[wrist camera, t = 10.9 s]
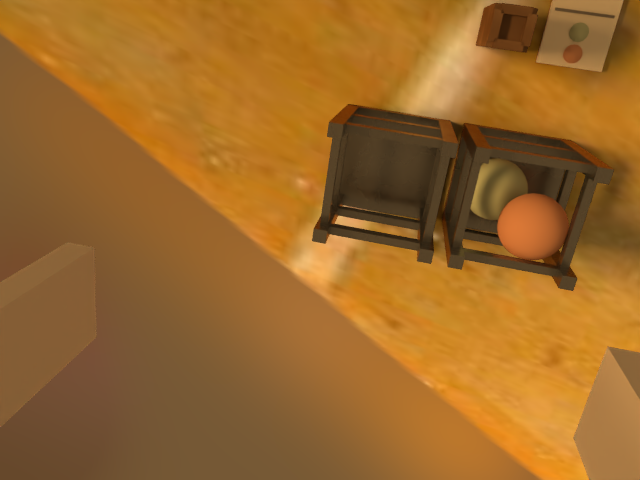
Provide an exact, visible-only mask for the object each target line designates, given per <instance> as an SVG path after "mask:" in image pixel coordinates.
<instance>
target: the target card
mask: <svg viewBox="0 0 640 480" xmlns="http://www.w3.org/2000/svg"><path fill="white" fill-rule="evenodd" d="M623 1H624V0H552V2H551V6H550V10H549V14H548V17H547V21H546V25H545V29H544V32H543V36H542V40H541V44H540V47H539V51H538V55H537V59H536V62H538V63H544V64H551V65H558V66H564V67H571V68H578V69H584V70H591V71H598V72H602V69H603V65H604V62H605V59H606V56H607V52H608V49H609V46H610V43H611V40H612V36H613V33H614V30H615V27H616V23H617V20H618V17H619V14H620V11H621V7H622V4H623Z"/></svg>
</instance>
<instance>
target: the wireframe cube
mask: <svg viewBox="0 0 640 480" xmlns="http://www.w3.org/2000/svg"><path fill="white" fill-rule="evenodd" d="M327 137H332V145H331V152H330V159H329V166H328V172H327V179H326V186H325V193H324V200H323V207H322V214H321V217H320V218H319V220H318V222H317V224H316V226H315V228H314V232H313V239H312V241H314V242H319V243H326V241H327V239H328V237H329V235H330V234H332V235H337V236H342V237H348V238H353V239H358V240H364V241H369V242H374V243H379V244H385V245H390V246H395V247H401V248H406V249H411V250H416V251H417V261H419V262H424V263H429V264H431V262H432V257H433V253H434V244H433V231H434V226H435V222H436V217H437V213H438V209H439V204H440V200H441V195H442V191H443V187H444V182H445V178H446V173H447V169H448V164H449V160H450V158H455V157H456V153H457V149H458V144H459V143H458V141H457V138H456V135H455V133H454V130H453V127H452V124H451V122H450V121H449V120H443V119H437V118H431V117H424V116H418V115H412V114H406V113H400V112H394V111H388V110H381V109H375V108H369V107H363V106H357V105H351V104H348V105H347V106H346V107H345V108H344V109H342V110H341V111H340V112H339V113H338V114H337V115H336V116H335V117H334V118H333V119H332V120H331V121H330V122H329V126H328V133H327ZM343 205H346V206H352V207H357V208H363V209H368V210H374V211H379V212H385V213H390V214H396V215H401V216H406V217H412V218H417V219H418V220H414V219H409V218H403V217H398V216H393V215H387V214H382V213H376V212H371V211H365V210H360V209H354V208H349V207H343ZM338 215H339V216H344V217H350V218H355V219H360V220H366V221H371V222H377V223H382V224H387V225H393V226H398V227H404V228H409V229H415V230H418V232H417V239H413V238H407V237H402V236H397V235H391V234H386V233H381V232H375V231H370V230H364V229H359V228H354V227H348V226H343V225H338V224H335V221H336V219H337V217H338Z"/></svg>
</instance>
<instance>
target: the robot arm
mask: <svg viewBox="0 0 640 480" xmlns="http://www.w3.org/2000/svg"><path fill="white" fill-rule="evenodd" d="M94 250H95V249H94V247H89V246H84V245H79V244H73V243H66V244H64V245H62V246H61V247H59V248H57V249H55V250H54V251H52V252H50V253H49V254H47V255H45V256H44V257H42V258H40V259H39V260H37V261H35V262H34V263H32V264H30V265H28V266H27V267H25V268H23V269H22V270H20V271H19V272H17V273H15V274H13V275H12V276H10V277H8V278H7V279H5V280H3V281H2V282H0V427H1V426H2V425H3V424H4V423H5V422H6V421H7V420H9V419H10V417H12V416H13V415H14V414H15V413H16V412H17V411H18V410H19V409H20V408H21V407H22V406H23V405H24V404H26V403H27V402H28V401H29V400H30V399H31V398H32V397H33V396H34V395H35V394H36V393H37V392H38V391H39V390H41V389H42V388H43V387H44V386H45V385H46V384H47V383H48V382H49V381H50V380H51V379H52V378H53V377H54V376H55V375H56V374H57V373H59V372H60V371H61V370H62V369H63V368H64V367H65V366H66V365H67V364H68V363H69V362H70V361H71V360H72V359H73V358H75V357H76V356H77V355H78V354H79V353H80V352H81V351H82V350H83V349H84V348H85V347H86V346H87V345H88V344H89V343H91V342H92V341H93V340H94V339H95V338H96V299H95V298H96V296H95V251H94ZM574 441H575V443H576V446H577V449H578V451H579V454H580V456H581V459H582V462H583V464H584V467H585V469H586V472H587V475H588V477H589V480H640V353H638V352H633V351H628V350H623V349H618V348H612V347H607V349H606V352H605V354H604V357H603V360H602V362H601V365H600V368H599V370H598V373H597V376H596V379H595V381H594V384H593V387H592V389H591V392H590V395H589V397H588V400H587V403H586V405H585V408H584V411H583V413H582V416H581V419H580V421H579V424H578V427H577V430H576V432H575V435H574Z"/></svg>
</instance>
